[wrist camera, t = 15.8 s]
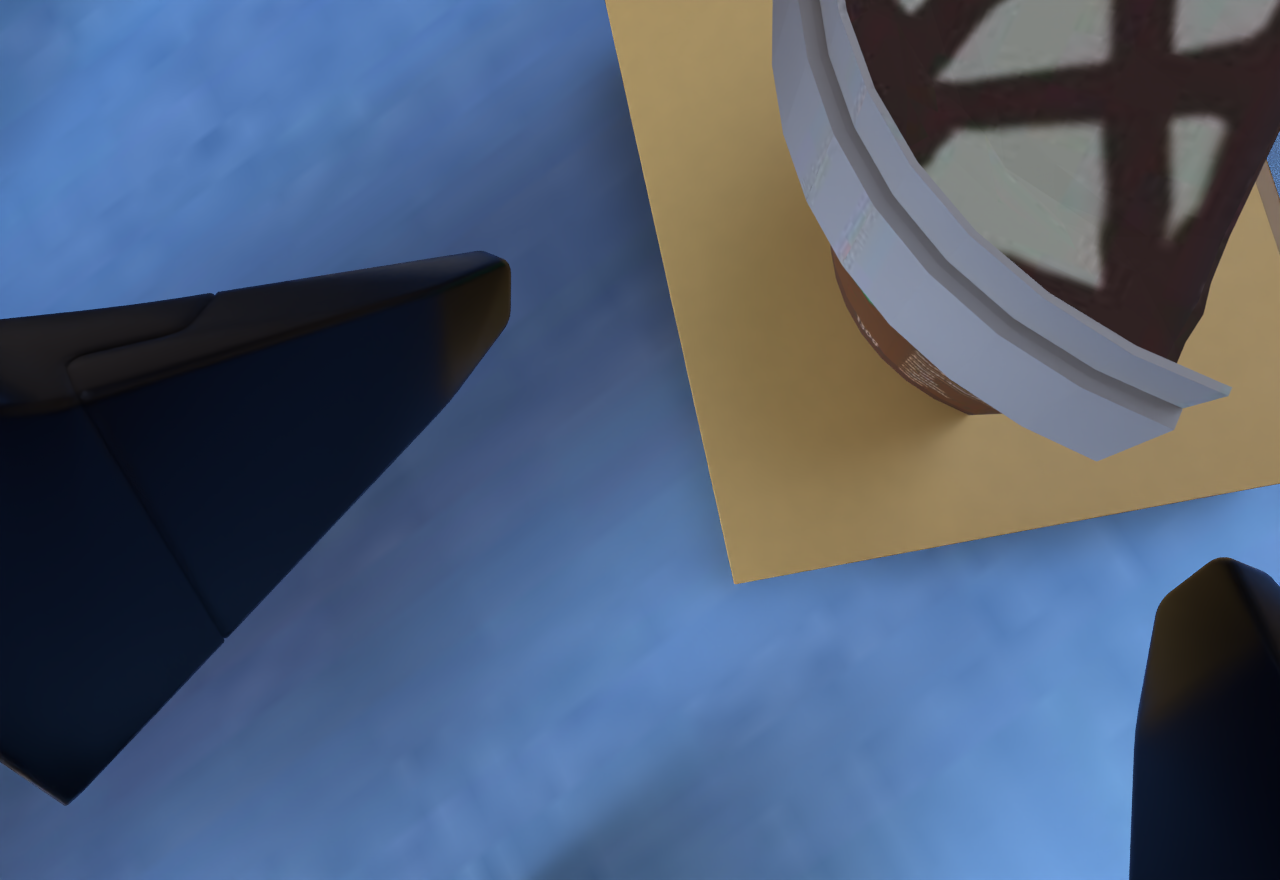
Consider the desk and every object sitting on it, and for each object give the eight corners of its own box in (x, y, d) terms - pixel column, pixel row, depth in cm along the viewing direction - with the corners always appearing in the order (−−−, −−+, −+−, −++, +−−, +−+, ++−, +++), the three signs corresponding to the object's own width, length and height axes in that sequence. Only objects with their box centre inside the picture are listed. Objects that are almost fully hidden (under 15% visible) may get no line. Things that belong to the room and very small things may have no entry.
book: (1255, 470, 17) (1371, 466, 14) (743, 568, 20) (733, 584, 16) (1071, -114, 19) (1132, -244, 16) (626, 44, 22) (596, -38, 18)
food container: (900, -84, 17) (1060, -893, 7) (1166, -24, 15) (1837, -932, 5) (700, 375, 17) (579, 221, 7) (942, 474, 16) (1204, 452, 6)
